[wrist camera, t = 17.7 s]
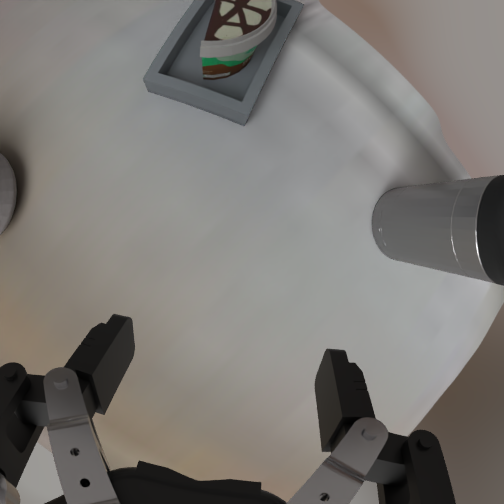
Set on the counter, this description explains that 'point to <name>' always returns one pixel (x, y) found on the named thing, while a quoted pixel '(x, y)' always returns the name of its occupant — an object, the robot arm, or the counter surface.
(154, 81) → the tray
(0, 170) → the coffee pot
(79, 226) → the counter surface
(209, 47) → the food container
